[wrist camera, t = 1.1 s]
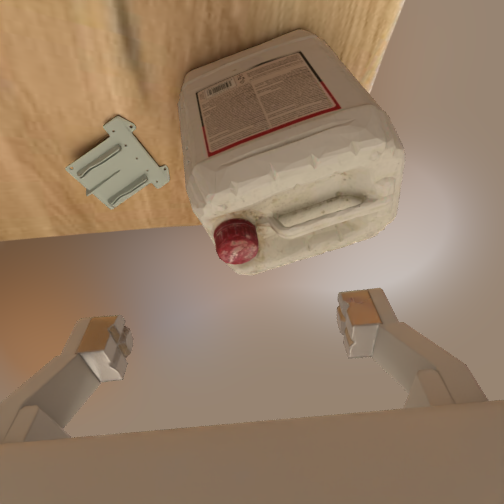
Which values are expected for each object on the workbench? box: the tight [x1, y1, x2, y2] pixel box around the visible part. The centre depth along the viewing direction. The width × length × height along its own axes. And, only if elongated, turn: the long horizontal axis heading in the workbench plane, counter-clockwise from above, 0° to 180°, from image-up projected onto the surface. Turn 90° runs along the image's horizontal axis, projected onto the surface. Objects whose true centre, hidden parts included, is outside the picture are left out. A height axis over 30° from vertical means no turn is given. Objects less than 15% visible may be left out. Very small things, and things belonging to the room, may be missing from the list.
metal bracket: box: [66, 116, 170, 209], centre depth 58 cm, size 14×6×15 cm
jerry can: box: [178, 29, 405, 275], centre depth 46 cm, size 24×19×30 cm
